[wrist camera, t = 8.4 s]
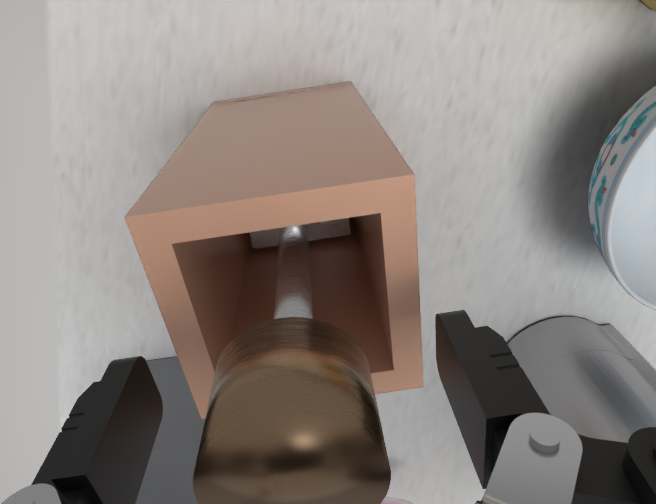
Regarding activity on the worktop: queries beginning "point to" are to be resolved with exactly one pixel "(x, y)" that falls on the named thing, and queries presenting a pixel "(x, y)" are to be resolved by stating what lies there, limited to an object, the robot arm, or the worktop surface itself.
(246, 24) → the worktop surface
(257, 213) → the press terracotta
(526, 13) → the worktop surface
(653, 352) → the worktop surface
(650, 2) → the cheese
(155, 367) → the grey square holder
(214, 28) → the worktop surface
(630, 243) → the chinaware
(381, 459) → the bronze knob plunger
